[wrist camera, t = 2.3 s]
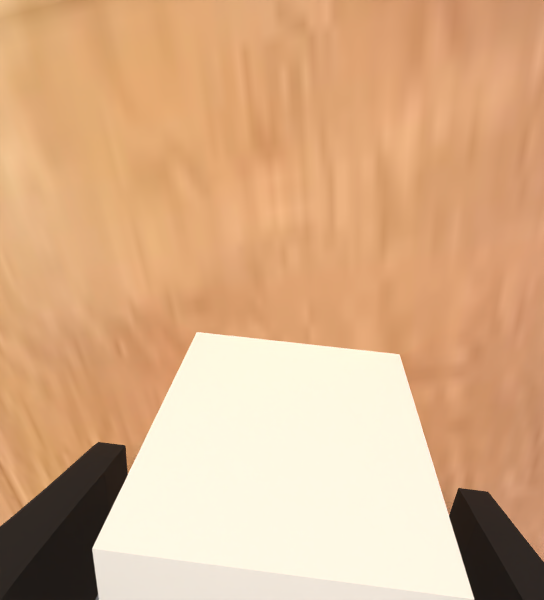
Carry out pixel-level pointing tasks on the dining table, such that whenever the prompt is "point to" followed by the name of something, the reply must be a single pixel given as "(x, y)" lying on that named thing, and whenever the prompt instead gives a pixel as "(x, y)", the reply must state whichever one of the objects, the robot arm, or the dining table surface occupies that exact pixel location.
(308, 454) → the cream block
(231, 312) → the dining table surface
